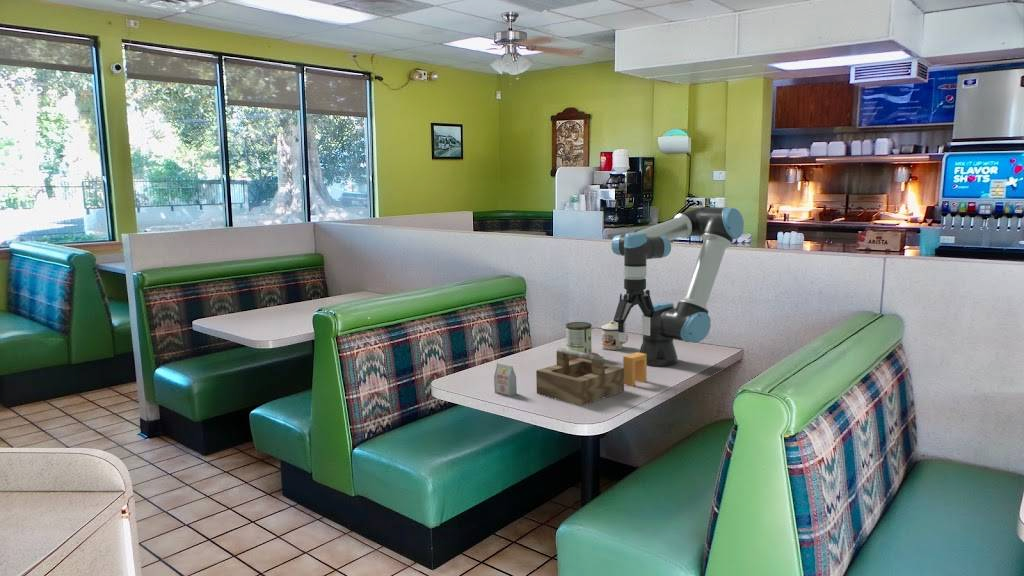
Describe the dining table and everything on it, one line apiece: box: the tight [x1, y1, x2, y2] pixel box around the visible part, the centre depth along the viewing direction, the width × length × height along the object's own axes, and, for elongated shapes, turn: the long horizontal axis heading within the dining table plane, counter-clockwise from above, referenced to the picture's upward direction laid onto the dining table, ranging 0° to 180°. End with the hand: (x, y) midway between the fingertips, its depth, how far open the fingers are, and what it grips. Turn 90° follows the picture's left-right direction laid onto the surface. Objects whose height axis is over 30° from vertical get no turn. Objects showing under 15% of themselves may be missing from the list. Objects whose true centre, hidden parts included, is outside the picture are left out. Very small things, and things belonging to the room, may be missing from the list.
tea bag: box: [493, 362, 518, 397], centre depth 239 cm, size 4×7×10 cm, turn 49°
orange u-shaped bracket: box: [622, 351, 648, 387], centre depth 247 cm, size 8×4×10 cm, turn 133°
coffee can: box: [565, 321, 593, 353], centre depth 282 cm, size 10×10×14 cm
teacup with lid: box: [601, 320, 629, 351], centre depth 297 cm, size 12×9×12 cm
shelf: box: [535, 347, 625, 407], centre depth 238 cm, size 22×20×14 cm
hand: (634, 338), depth 245 cm, fingers open, 13 cm apart
